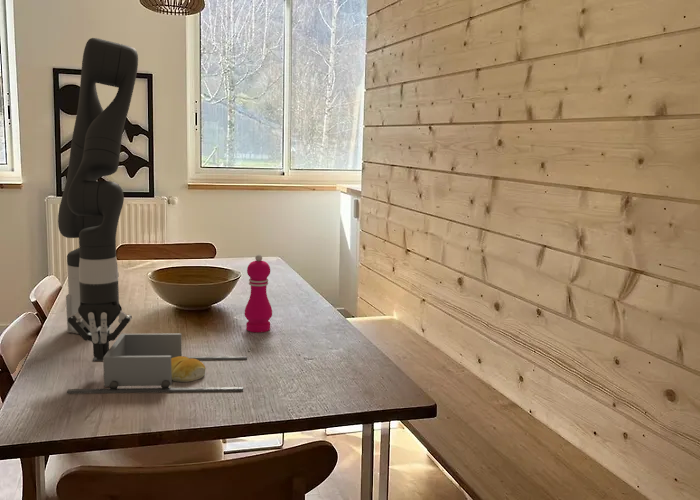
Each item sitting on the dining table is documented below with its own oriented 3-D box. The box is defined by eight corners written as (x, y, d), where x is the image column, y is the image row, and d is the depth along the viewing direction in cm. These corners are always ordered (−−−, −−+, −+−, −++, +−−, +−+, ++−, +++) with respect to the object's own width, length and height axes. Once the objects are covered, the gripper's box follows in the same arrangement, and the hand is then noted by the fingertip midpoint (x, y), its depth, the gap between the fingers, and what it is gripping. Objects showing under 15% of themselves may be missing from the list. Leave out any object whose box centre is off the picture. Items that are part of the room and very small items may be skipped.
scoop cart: (103, 389, 133) (102, 359, 132) (123, 359, 150) (122, 332, 149) (170, 389, 134) (169, 358, 133) (182, 359, 152) (181, 332, 151)
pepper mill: (267, 334, 173) (267, 258, 170) (240, 331, 175) (240, 256, 171) (275, 326, 180) (276, 253, 177) (250, 324, 182) (250, 251, 178)
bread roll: (182, 366, 149) (182, 349, 148) (211, 375, 144) (211, 357, 143) (152, 376, 142) (152, 358, 141) (182, 386, 137) (182, 367, 137)
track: (67, 393, 131) (66, 391, 131) (94, 359, 151) (94, 357, 151) (243, 391, 135) (243, 388, 135) (247, 358, 155) (247, 356, 155)
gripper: (59, 282, 133) (63, 365, 136) (127, 282, 135) (130, 365, 138) (71, 274, 141) (74, 353, 144) (135, 274, 142) (137, 353, 145)
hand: (101, 359), depth 141 cm, fingers closed
